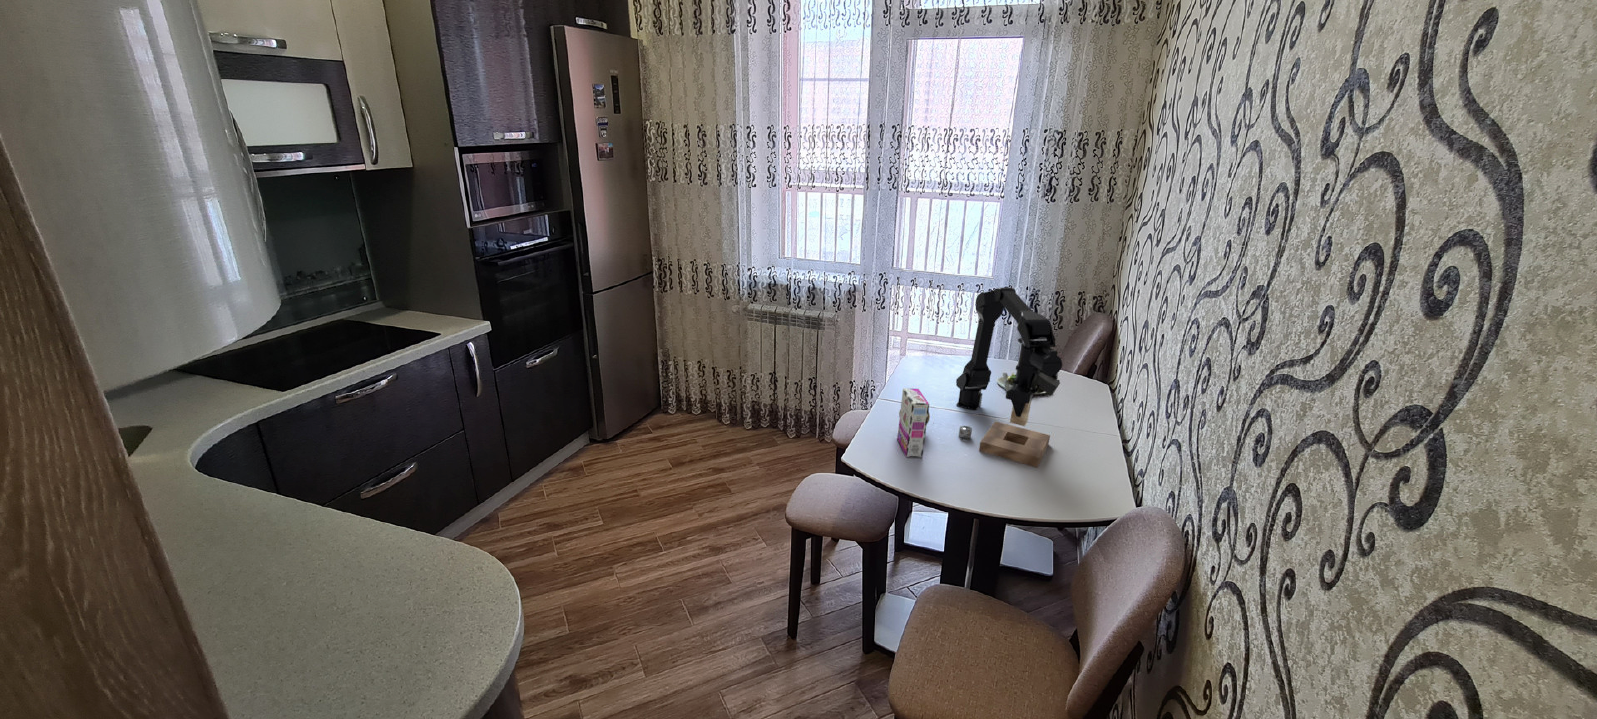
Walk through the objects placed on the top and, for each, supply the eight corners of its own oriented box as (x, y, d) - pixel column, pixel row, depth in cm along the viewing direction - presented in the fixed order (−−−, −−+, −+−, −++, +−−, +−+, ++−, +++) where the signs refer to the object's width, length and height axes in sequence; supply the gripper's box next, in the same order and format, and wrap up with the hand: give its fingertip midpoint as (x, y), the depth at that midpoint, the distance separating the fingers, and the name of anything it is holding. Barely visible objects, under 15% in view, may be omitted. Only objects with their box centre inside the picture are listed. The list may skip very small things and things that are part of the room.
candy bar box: (923, 458, 170) (930, 404, 164) (906, 458, 170) (912, 404, 164) (913, 439, 181) (919, 387, 175) (896, 439, 180) (901, 387, 174)
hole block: (978, 450, 175) (980, 441, 174) (993, 430, 188) (995, 421, 187) (1037, 467, 168) (1039, 457, 167) (1048, 444, 180) (1050, 435, 179)
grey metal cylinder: (956, 438, 182) (958, 429, 181) (960, 433, 185) (961, 424, 184) (968, 441, 181) (970, 432, 180) (972, 436, 184) (973, 427, 182)
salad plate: (983, 378, 229) (985, 366, 228) (1026, 376, 233) (1028, 364, 232) (1011, 399, 212) (1013, 387, 210) (1056, 396, 216) (1059, 384, 214)
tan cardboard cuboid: (1009, 422, 174) (1013, 400, 172) (1013, 417, 178) (1017, 395, 175) (1024, 426, 172) (1028, 403, 170) (1027, 421, 176) (1031, 398, 173)
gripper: (1053, 379, 157) (1043, 433, 163) (1066, 359, 172) (1056, 409, 178) (1009, 369, 163) (1000, 423, 168) (1025, 351, 178) (1016, 400, 183)
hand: (1020, 413), depth 174 cm, fingers closed on tan cardboard cuboid, 4 cm apart
